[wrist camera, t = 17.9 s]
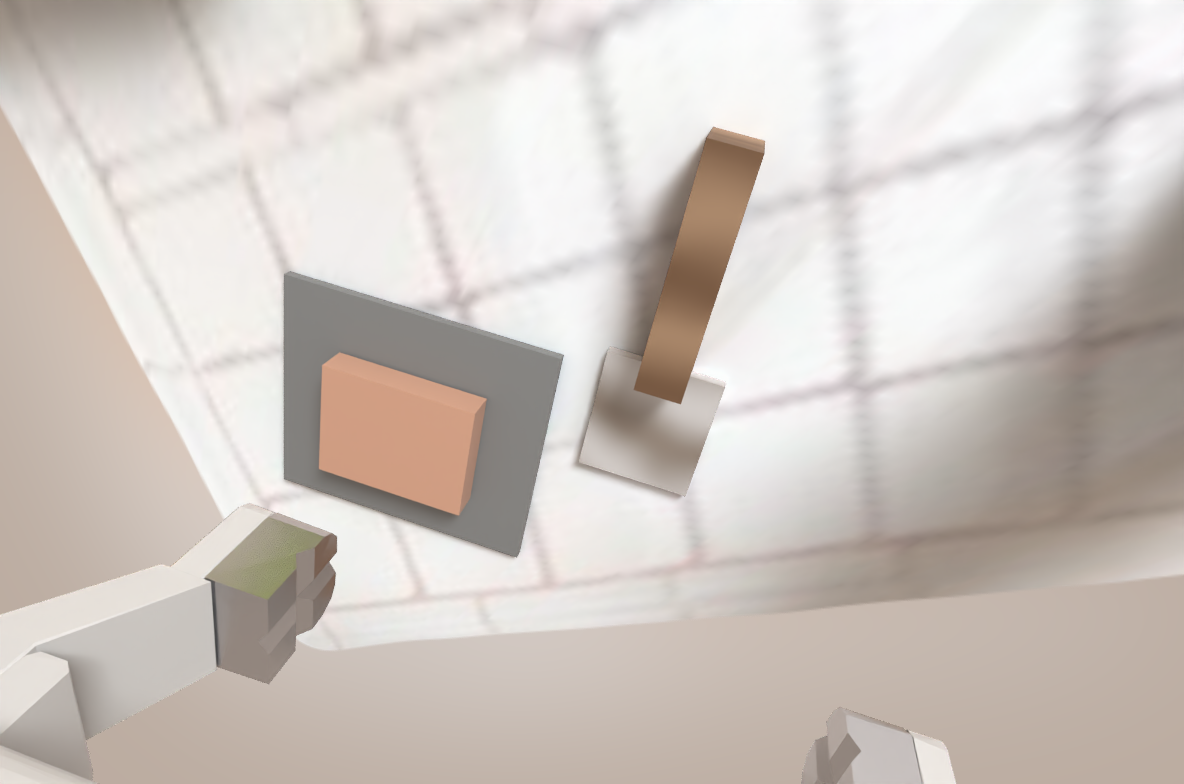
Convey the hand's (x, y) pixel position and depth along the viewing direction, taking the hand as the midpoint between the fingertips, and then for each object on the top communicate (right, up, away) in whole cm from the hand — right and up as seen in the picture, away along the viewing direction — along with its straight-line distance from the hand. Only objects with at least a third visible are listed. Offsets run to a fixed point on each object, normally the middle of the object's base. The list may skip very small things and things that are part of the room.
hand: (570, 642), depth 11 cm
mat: (-12, +2, +35) cm, 37 cm away
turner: (+5, +8, +28) cm, 30 cm away
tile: (-11, +5, +32) cm, 34 cm away
